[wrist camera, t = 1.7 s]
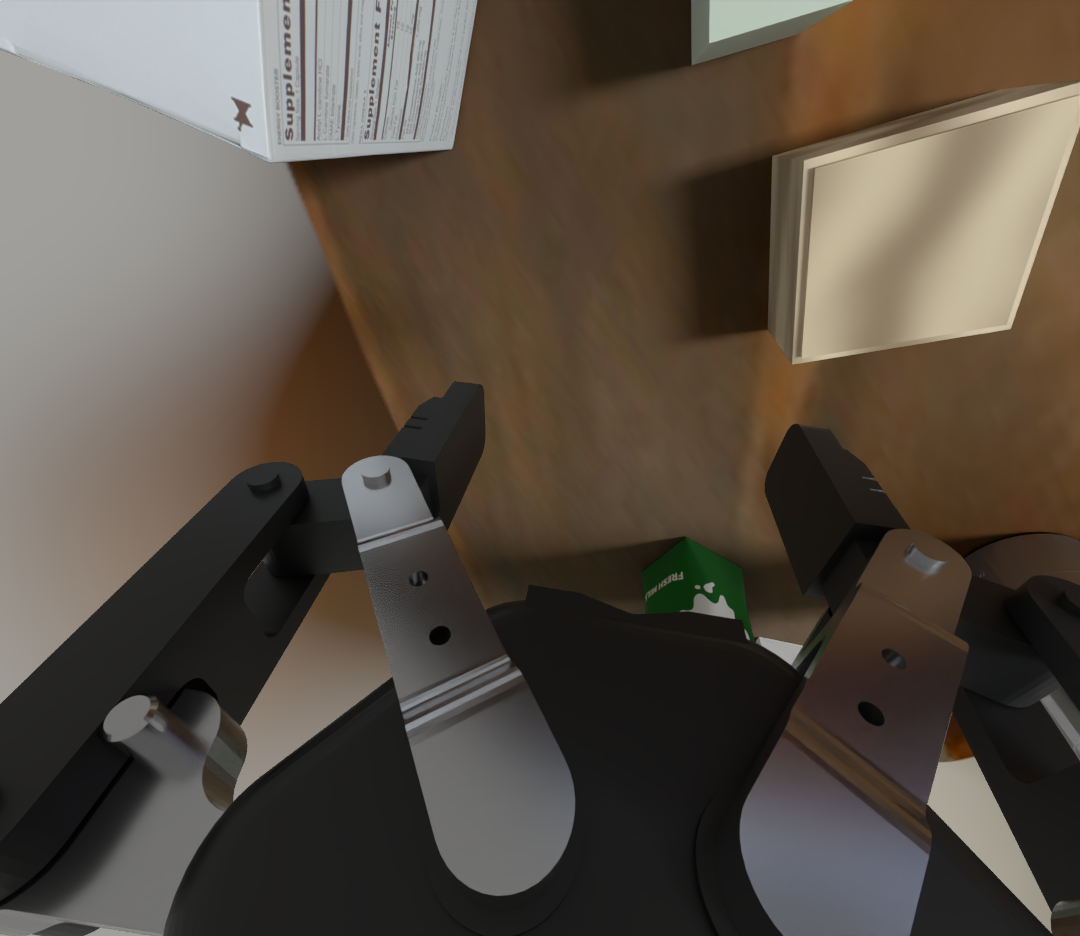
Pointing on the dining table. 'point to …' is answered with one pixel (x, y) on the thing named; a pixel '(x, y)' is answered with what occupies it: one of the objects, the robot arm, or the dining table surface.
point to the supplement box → (267, 67)
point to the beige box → (916, 223)
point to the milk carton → (696, 584)
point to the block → (751, 23)
